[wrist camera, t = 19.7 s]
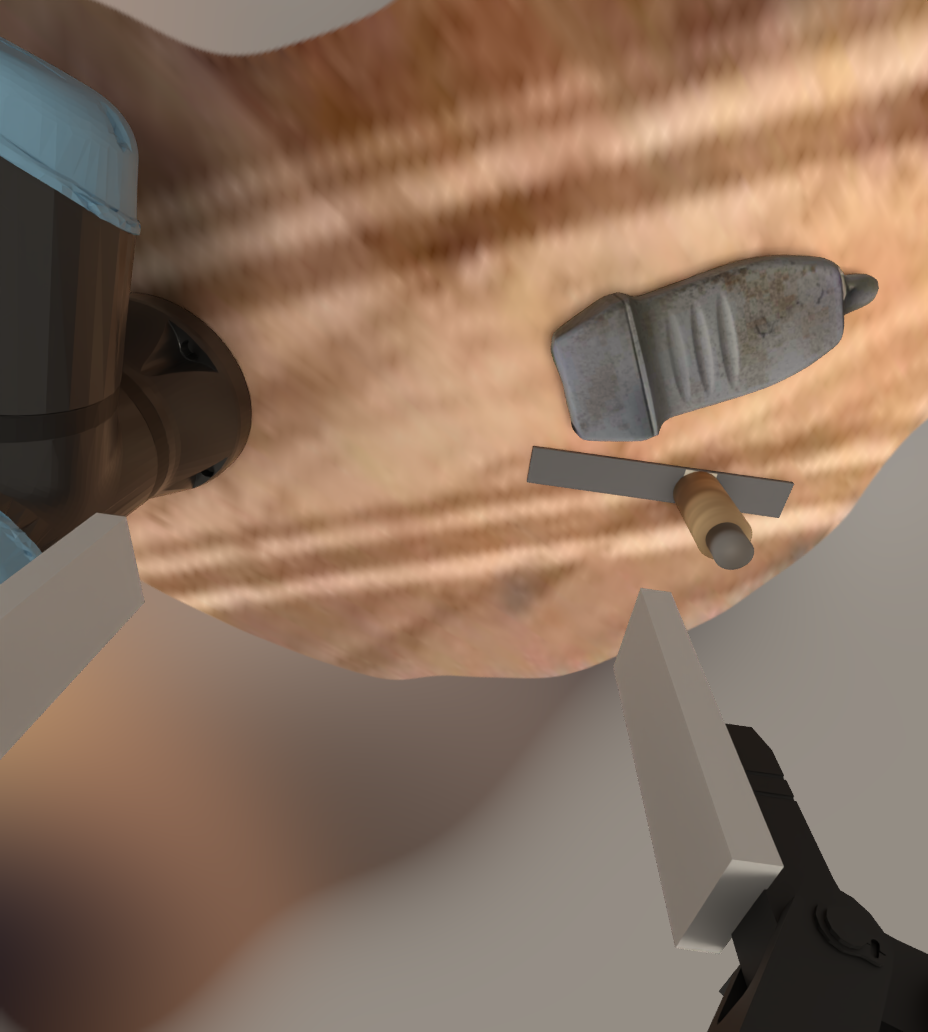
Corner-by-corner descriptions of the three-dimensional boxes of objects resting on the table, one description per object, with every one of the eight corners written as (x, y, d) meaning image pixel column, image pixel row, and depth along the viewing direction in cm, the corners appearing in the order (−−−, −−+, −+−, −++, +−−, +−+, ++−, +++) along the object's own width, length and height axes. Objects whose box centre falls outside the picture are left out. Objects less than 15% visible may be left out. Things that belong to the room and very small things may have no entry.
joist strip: (527, 480, 45) (527, 482, 44) (533, 446, 43) (533, 447, 43) (777, 516, 44) (779, 518, 44) (792, 482, 42) (794, 484, 42)
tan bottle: (668, 508, 44) (698, 573, 36) (679, 469, 42) (714, 527, 35) (712, 513, 44) (752, 579, 36) (726, 473, 42) (771, 533, 34)
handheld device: (867, 352, 38) (907, 369, 34) (578, 439, 43) (583, 463, 39) (860, 200, 34) (905, 199, 30) (542, 317, 39) (543, 330, 35)
